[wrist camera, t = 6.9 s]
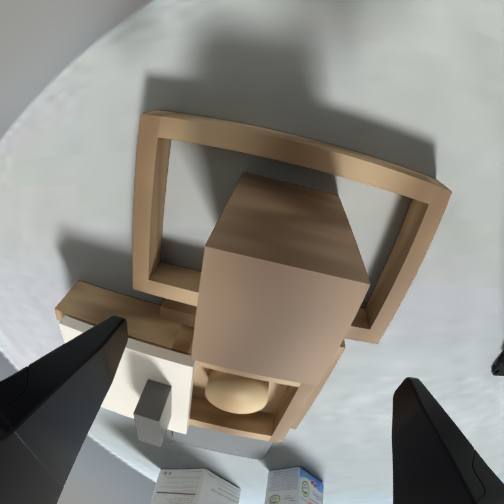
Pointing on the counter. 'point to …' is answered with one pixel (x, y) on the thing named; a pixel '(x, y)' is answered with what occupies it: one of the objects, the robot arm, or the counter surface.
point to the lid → (147, 386)
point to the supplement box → (193, 488)
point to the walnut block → (278, 282)
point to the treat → (236, 392)
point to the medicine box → (293, 487)
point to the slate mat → (223, 442)
